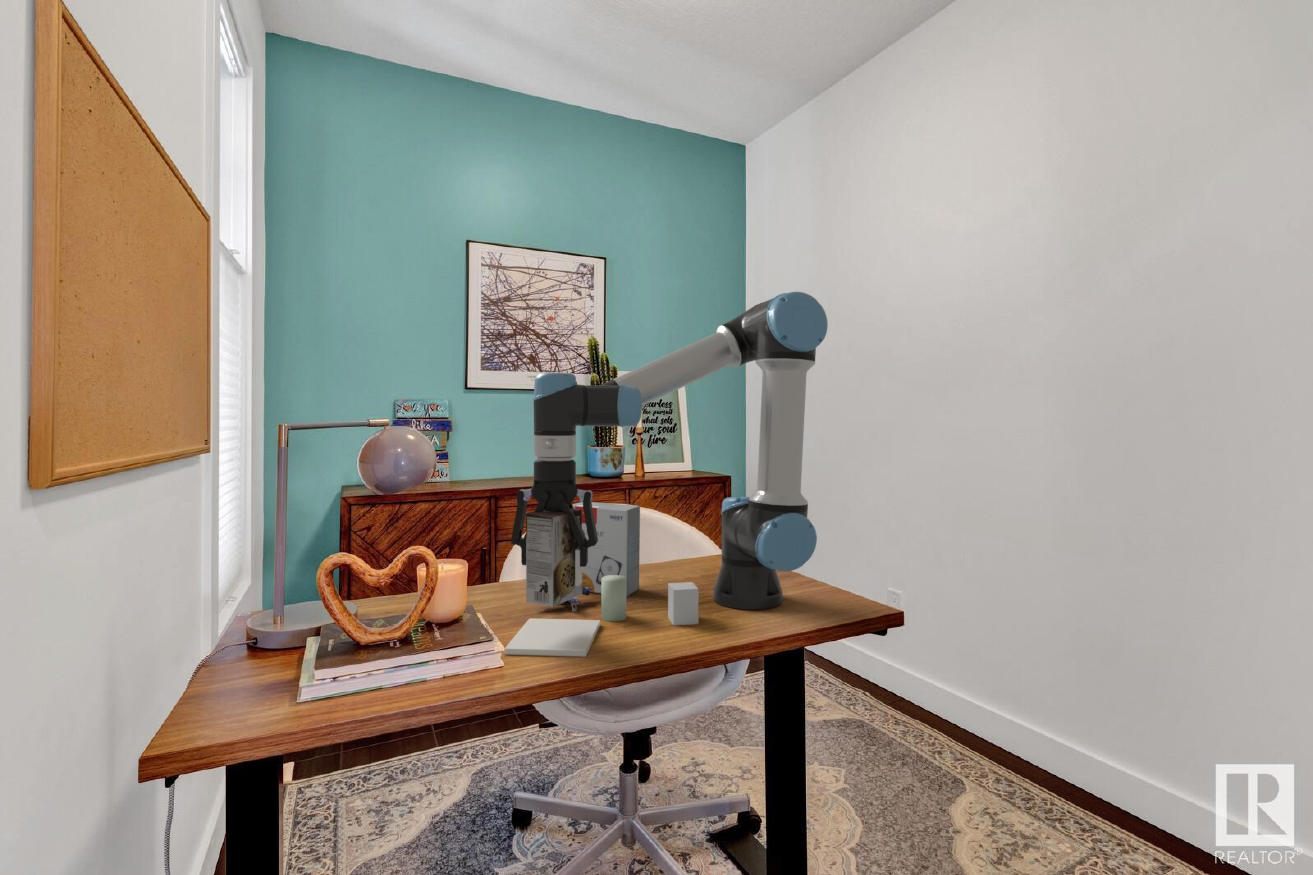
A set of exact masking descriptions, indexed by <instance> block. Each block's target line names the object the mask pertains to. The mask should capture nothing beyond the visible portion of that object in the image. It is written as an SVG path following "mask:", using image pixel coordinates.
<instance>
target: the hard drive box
mask: <svg viewBox="0 0 1313 875" xmlns="http://www.w3.org/2000/svg"><path fill="white" fill-rule="evenodd" d="M572 505H573V507H574V509H582V530H583V532H584V534H585V537H586V539H587V540H588V533H587V527H586V522H585V516H584V510H583V502H581V501H580V502H576V503H572ZM592 509H593V514H594V520H595V525H596V531H597V537H598V542H597V543H596V545H595V546H591V547H589V548H588V563H587V565H586V567H582V587H585V588H586V587H590V588H592V590H590V593H597V594H601V578H602V577H604V576H608V575H621V576H625V577H626V598H627V597H629V596H630V595H632V594H633V593H634V592H635V593H636V591H638V590H640V544H641V543H640V542H641V541H640V539H641V538H640V537H641V536H640V534H641V528H640V527H641V517H640V516H641V507H640V505H630V504H620V503H607V502H606V503H605V502H594V501H592Z"/></svg>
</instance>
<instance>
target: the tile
mask: <svg viewBox="0 0 1313 875" xmlns="http://www.w3.org/2000/svg"><path fill="white" fill-rule="evenodd" d="M600 627H601V619H570V618H569V619H568V618H567V619H566V618H561V619H560V618H528V619H527V621H526V622H525V623H524V624H523V625H522V627H521V628H520V629H519V630H518V632H517V633H516V634H515V635H514V637H513V638H512V639H511V640H510V641H509V642H508V644H507V645H506V646H505V647H504V655H508V656H509V655H512V656H513V655H515V656H549V657H550V656H552V657H555V656H556V657H581V658H582V657H585V658H586V657H587V655H588V652H589V651H590V648H591V646H592V644H593V642H594V640H595V638H596V635H597V633H598V631H599V629H600Z"/></svg>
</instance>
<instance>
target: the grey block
mask: <svg viewBox="0 0 1313 875" xmlns="http://www.w3.org/2000/svg"><path fill="white" fill-rule="evenodd" d="M667 618H668V620H669V622H670V623H671V624H672V626H688V625H699V587H698V586H697V585H695V583H694V582H692V581H688V582H687V581H686V582H685V581H684V582H669V583H667Z"/></svg>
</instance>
